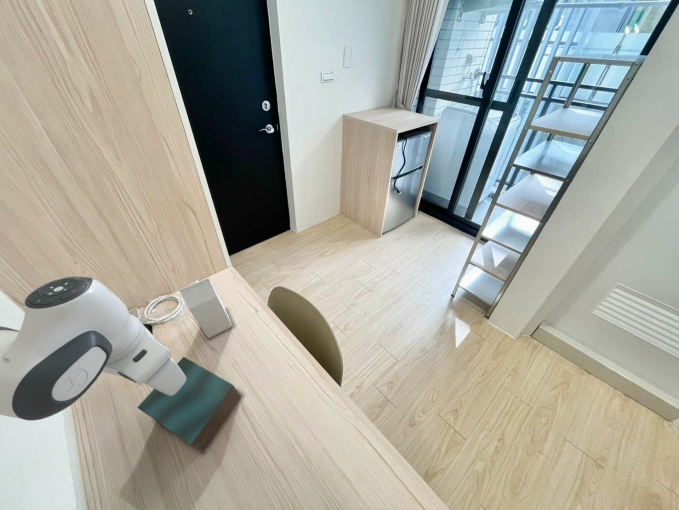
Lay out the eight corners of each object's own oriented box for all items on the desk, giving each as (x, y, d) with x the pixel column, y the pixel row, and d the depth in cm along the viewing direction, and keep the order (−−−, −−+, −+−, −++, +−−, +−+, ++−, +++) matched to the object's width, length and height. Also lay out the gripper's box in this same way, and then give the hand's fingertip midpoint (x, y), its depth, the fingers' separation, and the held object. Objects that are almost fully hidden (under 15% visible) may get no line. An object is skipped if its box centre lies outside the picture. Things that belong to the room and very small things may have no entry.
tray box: (157, 419, 63) (142, 411, 59) (197, 371, 72) (187, 359, 67) (203, 452, 59) (191, 445, 54) (241, 396, 67) (233, 386, 62)
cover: (138, 408, 59) (136, 407, 58) (184, 357, 67) (183, 356, 66) (191, 445, 54) (189, 444, 54) (233, 386, 62) (232, 384, 62)
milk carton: (232, 326, 81) (212, 286, 68) (208, 338, 78) (182, 299, 65) (225, 310, 85) (204, 269, 72) (202, 321, 83) (176, 281, 69)
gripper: (66, 337, 49) (110, 369, 59) (143, 386, 43) (178, 414, 53) (101, 311, 53) (137, 345, 63) (176, 352, 47) (202, 384, 57)
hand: (156, 377), depth 58 cm, fingers closed
